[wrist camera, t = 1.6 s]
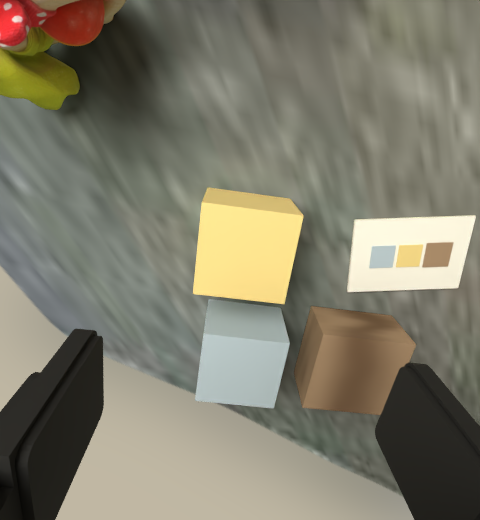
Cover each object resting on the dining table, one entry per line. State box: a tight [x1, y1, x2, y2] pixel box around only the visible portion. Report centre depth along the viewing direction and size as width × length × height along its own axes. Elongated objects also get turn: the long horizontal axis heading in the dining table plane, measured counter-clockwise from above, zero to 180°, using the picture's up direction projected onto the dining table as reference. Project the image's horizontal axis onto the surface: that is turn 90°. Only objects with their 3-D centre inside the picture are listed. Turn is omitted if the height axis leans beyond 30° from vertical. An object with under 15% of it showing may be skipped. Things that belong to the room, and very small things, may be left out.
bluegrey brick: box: [195, 299, 290, 408], centre depth 26 cm, size 6×6×5 cm
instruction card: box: [347, 215, 476, 292], centre depth 25 cm, size 9×6×1 cm, turn 92°
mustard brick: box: [193, 188, 303, 304], centre depth 22 cm, size 6×6×5 cm
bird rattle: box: [0, 0, 126, 110], centre depth 15 cm, size 6×11×9 cm
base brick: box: [294, 306, 416, 415], centre depth 27 cm, size 7×7×4 cm
